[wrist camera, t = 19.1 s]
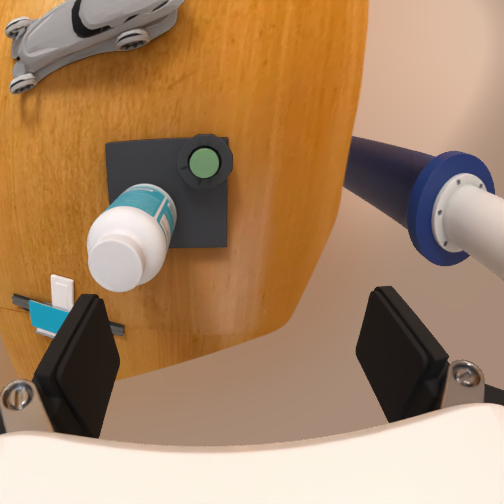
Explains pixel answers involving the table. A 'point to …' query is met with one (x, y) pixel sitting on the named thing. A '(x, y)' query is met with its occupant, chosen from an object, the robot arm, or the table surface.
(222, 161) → the scale
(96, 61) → the table surface
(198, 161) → the button
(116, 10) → the car model
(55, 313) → the blue paper trimmer
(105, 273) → the pill bottle
